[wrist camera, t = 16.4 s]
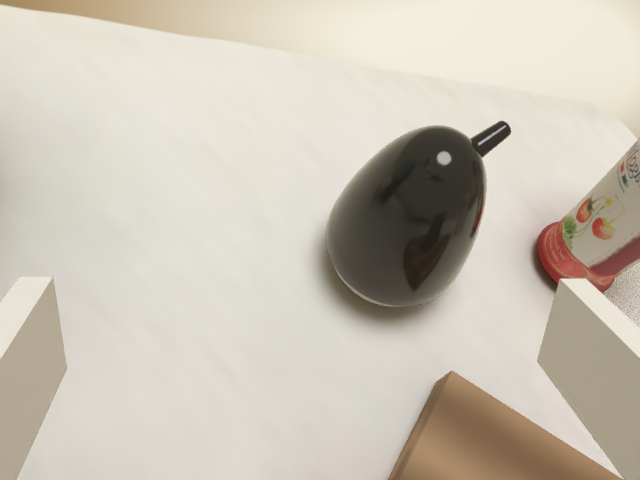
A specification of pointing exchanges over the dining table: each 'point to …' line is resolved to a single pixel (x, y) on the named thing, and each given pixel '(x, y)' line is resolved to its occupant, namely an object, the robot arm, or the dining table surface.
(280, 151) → the dining table surface
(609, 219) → the liquor
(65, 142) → the dining table surface
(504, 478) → the socket plate
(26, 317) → the robot arm
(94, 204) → the dining table surface
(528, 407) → the dining table surface
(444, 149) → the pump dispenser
